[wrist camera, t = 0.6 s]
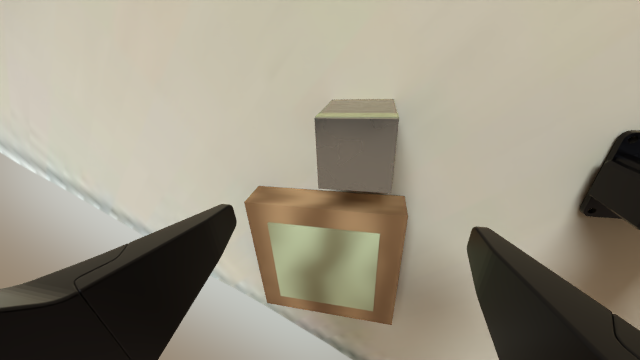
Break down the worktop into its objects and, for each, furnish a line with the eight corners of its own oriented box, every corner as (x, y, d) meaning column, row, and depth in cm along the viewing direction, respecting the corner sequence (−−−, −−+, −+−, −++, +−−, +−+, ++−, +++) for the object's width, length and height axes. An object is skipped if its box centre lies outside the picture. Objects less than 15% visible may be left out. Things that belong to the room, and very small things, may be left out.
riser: (404, 196, 21) (408, 217, 19) (390, 299, 28) (391, 326, 25) (258, 186, 24) (243, 203, 22) (276, 281, 31) (266, 304, 28)
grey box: (393, 98, 18) (399, 118, 13) (388, 156, 20) (391, 193, 15) (332, 99, 19) (314, 118, 14) (333, 154, 21) (318, 188, 16)
